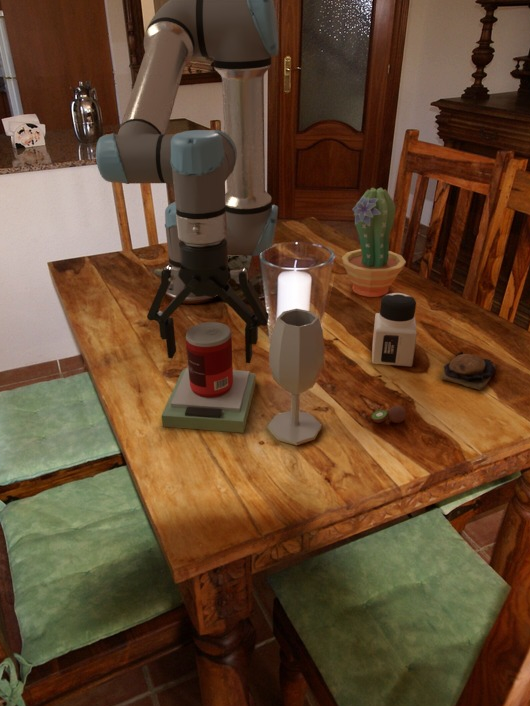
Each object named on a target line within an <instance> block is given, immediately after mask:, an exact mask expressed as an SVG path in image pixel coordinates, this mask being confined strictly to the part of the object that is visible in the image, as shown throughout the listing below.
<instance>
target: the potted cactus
mask: <svg viewBox="0 0 530 706" xmlns="http://www.w3.org/2000/svg"><path fill="white" fill-rule="evenodd" d="M396 210H397V207H396V205H395V201H394V200H393V198H392V197H391V195H390V194H389V192H388V191H387V189H383V187H379V188H377V189H376V188H375V187H371V188H370V189H366V191H365V192H364V194H363V195H362V196H361V197H360V199H359V200H358V201H357V202H356V204H355V206H354V207H353V208H352V211H353V212H354V213H353V216H354V226H355V229H356V232H357V234H358V238H359V244H360V248H359V249H354V250H352V251H351V250H350V251H348V252H346V253H345V254H343V255H342V256H341V262H342V265H343V267H344V270H346V273H347V276H348V279H349V281H350V282H351V284H352V287H351V288H352V291H353V293H355V294H357V295H359V296H363V297H368V298H374V297H375V298H376V297H377V298H379V297H381V296H382V297H383V296H385V295H387V294H388V293H389V292H390V290H389V287H390V286H391V285H392V284H393V283H394V281H395V280H396V279H397V278H398V275H399V273H401V271H403V269H404V268H405V265H406V263H407V261H406V260H405V258H404V257H403V256H402V255H401V254H399V253H396V252H394V251H391V250H390V234H391V231H392V229H393V226H394V222H395V216H396Z"/></svg>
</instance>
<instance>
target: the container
mask: <svg viewBox="0 0 530 706" xmlns="http://www.w3.org/2000/svg"><path fill="white" fill-rule="evenodd" d="M379 307H380V308H379V312H376V313H375V317H374V323H373V324H374V325H373V336H372V344H371V347H372V349H371V363H372V364H374V365H384V366H385V365H386V366H398V367H409V368H411V367H413V365H414V364H413V363H414V356H415V350H416V343H417V337H418V330H417V329H418V328H417V322H416V315H415V313H416V307H417V301H416V299H415V298H414V297H413V296H411V295H409V294H406V293H403V292H402V293H401V292H392V293H387V294H385V295H383V296H382V297H381V299H380V306H379Z"/></svg>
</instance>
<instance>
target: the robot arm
mask: <svg viewBox="0 0 530 706" xmlns="http://www.w3.org/2000/svg"><path fill="white" fill-rule="evenodd" d="M279 45H280V44H279V28H278V19H277V12H276V6H275V2H274V0H168V1H167V2H165V3H164V4H163V5H162V6H160V8H159V9H158V10H157V12H156V13H155V14H154V15H153V17H152V18H151V20H150V22H149V23H148V25H147V28H146V30H145V33H144V37H143V49H144V54H143V58H142V61H141V63H140V67H139V70H138V73H137V75H136V79H135V82H134V84H133V88H132V91H131V94H130V98H129V100H128V103H127V106H126V109H125V112H124V115H123V118H122V122H121V125H120V127H119V130H118V132H117V134H116V133H113V132H112V133H110V134H104V135H102V136H100V137H99V138H98V140H97V142H96V147H95V160H96V167H97V169H98V173H99V175H100V176H101V178H102V179H103V180H104V181H106V182H107V183H115V184H126V185H129V184H134V185H135V184H139V185H140V184H169V185H172V184H173V191H174V193H173V194H174V201H173V202H171V203H170V204H168V205H167V206H166V207H165V210H164V211H165V212H164V222H165V223H164V228H165V235H166V245H167V256H168V263H167V264H166V265H165V266H164V267H163V269H162V270H161V274H160V276H161V277H160V284H159V287H158V289H157V291H156V294H155V296H154V298H153V301H152V303H151V305H150V308H149V310H148V313H147V315H146V318H147V320H148V321H155V322H157V323H158V327H159V337H160V339H161V340H165V342H166V351H167V358H168V359H173V358H174V356H175V354H176V352H177V345H176V344H177V343H176V334H175V324H174V323H175V322H174V317H171V316H172V315H173V314H174V312H175V311H176V310H177V309H178V308H179V306H180V305H181V304H182V305H200V304H206V303H210V302H214V301H215V300H217V299H219V298H220V299H221V300H222V301H224V302H226V304H228V306H229V307H230V308H231V309H232V310H233V312H235V313H236V314H237V316H239V317H240V319H241V320H242V321H243V322H244V323H245V326H244V327H245V328H244V351H245V352H244V353H245V363H246V364H251V362H252V358H253V345H257V344H258V340H259V327H261V326H263V327H265V326H267V325H268V323H269V322H268V321H269V317H270V314H269V313H268V311H267V309H266V307H265V305H264V303H263V301H262V300H261V297H260V296H259V294H258V292H257V290H256V289H255V287H254V285H253V284H252V281H251V280H250V272H249V268H248V267H247V266H242V267H241V268H240V269H231V268H230V265H229V260H228V256H230V255H236V256H248V257H254V256H261V255H260V253H261V252H263V251H264V250H266V249H268V248H270V247H272V246H274V241H275V235H276V229H277V222H278V215H279V214H278V213H279V206H278V205H275V204H273V201H272V199H273V198H272V196H271V194H269V193H268V192H267V191H266V168H265V167H266V165H265V164H266V163H265V159H266V158H265V152H266V151H265V80H264V79H265V74H266V73H267V71H268V70H270V68H271V67H272V58H275V57H276V56H278V54H279V52H280V51H279V50H280V49H279ZM194 58H212V59H213V69H214V70H215V71H216V72H217V73H218V74H219V75H220V76H221V88H222V108H223V109H222V111H223V129H224V130H223V131H222V130H218V129H211V130H207V129H194V130H193V129H192V130H185V131H182V132H177V133H175V134H167V130H168V128H169V124H170V120H171V116H172V113H173V109H174V105H175V102H176V98H177V95H178V91H179V87H180V85H181V84H180V83H181V80H182V77H183V72H184V69H185V68H187V67H188V66H189V65H190V64H191V61H192V60H193V59H194ZM226 190H227V191H226ZM272 248H273V247H272ZM231 279H233V280H234V281H235V283H236V284H237V285H239V287H240V289H241V292H242V294H243V295H244V297H245V300H246V301H247V303H248V304H249V306H250V307H249V306H248V305H247V304H246V302H244V300H243V299H242V298H241V297H240V296H239V294H237V293H236V292H235V290H234V289H233V287H232V285H231V284H230V283H229V282H230V280H231ZM216 295H218V296H216ZM215 296H216V297H215ZM164 298H166V299H168V301H171V302H169V304H168V305H167V306H166V307H165V308H164V309H163V311H161V310H160V308H161V305H162V303H163V301H164Z"/></svg>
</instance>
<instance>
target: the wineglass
mask: <svg viewBox="0 0 530 706" xmlns="http://www.w3.org/2000/svg"><path fill="white" fill-rule="evenodd" d="M321 324H322V323H321V321H320V318H319V316H318V315H316V314H315V313H314V312H313V311H311V310H307V309H301V308H293V309H289V310H288V309H287V310H285V311H282V312H281V314H279V316H277V317H276V320H275V323H274V326H273V329H272V332H271V339H270V344H269V349H268V367H269V369H270V372H271V375H272V379H273V381H274V382H275V383H276V384H277V385H278V386H279V387H280V388H281V389H283V390H284V391H286V392H288V393H289V394H290V409H289V410H286V411H282V412H279V413H276V414H275V415H274V417H272V419H271V420H270V421H269V423H268V424H267V426H266V429H267V430H268V431H269V433H270V434H272V436H273V437H274V438H275V439H276V441H280V442H283V443H286V444H290V445H293V446H300V445H302V444H306V443H309V442H311V441H314V440H315V439H316V438H317V436H318V434H319V433H320V431H321V429H322V428H323V425H322V424H321V422H320V421H318V419H316V417H314V416H313V414H312V413H308V412H306V411H305V412H304V411H301V410H300V406H301V405H300V403H301V402H300V400H301V398H300V397H301V394H303V393H305V392H307V391H308V390H310V389H312V388H313V387H314V386H315V385H316V383H317V382H318V380H319V378H320V376H321V373H322V370H323V368H324V364H325V352H326V351H325V350H326V348H325V340H324V332H323V327H322V325H321Z"/></svg>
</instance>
